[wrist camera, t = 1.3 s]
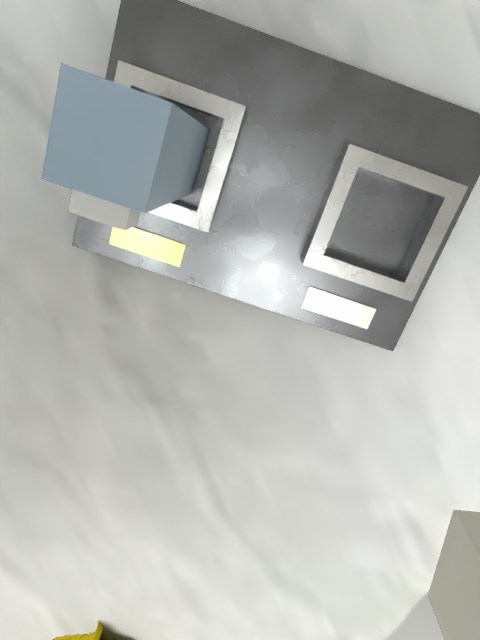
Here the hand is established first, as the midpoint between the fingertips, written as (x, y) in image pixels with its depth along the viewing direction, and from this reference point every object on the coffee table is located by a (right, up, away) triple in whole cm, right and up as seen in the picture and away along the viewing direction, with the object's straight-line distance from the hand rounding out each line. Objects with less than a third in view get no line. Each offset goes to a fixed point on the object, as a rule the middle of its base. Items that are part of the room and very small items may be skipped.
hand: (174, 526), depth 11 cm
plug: (-3, +16, +17) cm, 24 cm away
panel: (+4, +14, +19) cm, 24 cm away
